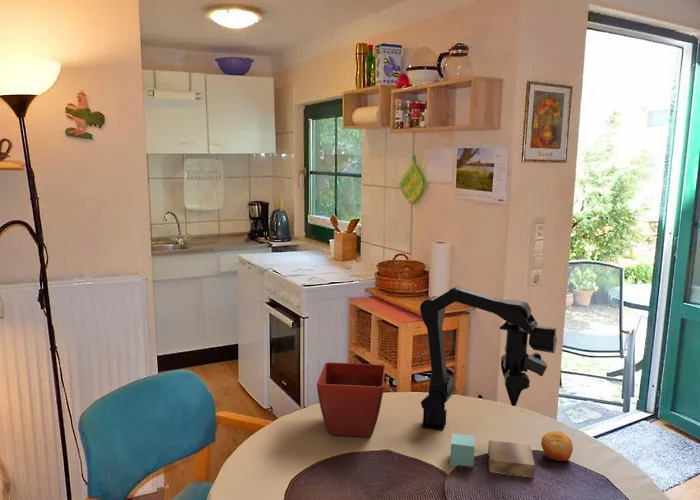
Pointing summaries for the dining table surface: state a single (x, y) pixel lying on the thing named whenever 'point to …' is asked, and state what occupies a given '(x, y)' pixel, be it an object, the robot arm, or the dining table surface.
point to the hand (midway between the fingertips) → (511, 399)
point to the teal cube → (462, 450)
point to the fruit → (557, 446)
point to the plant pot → (351, 397)
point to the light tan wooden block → (511, 458)
